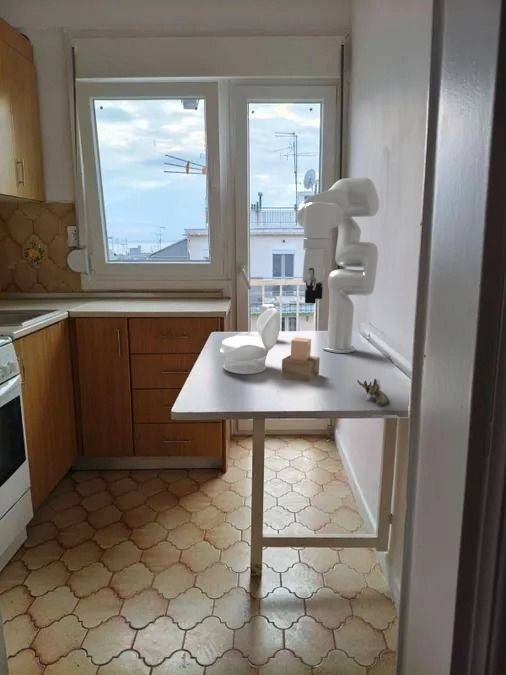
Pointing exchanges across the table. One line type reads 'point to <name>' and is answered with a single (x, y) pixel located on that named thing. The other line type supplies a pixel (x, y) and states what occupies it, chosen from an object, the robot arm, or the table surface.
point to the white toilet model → (251, 345)
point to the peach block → (300, 349)
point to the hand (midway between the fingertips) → (313, 300)
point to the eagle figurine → (375, 392)
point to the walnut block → (300, 368)
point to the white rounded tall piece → (266, 307)
